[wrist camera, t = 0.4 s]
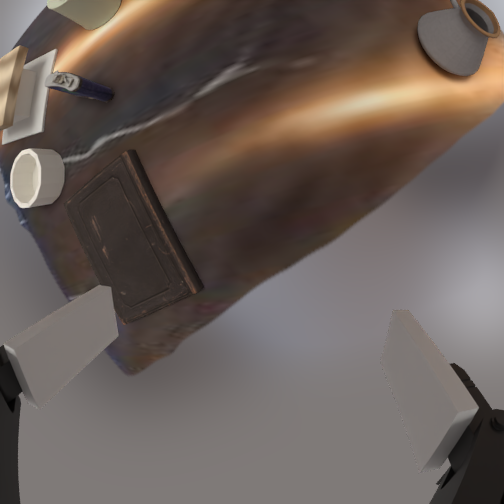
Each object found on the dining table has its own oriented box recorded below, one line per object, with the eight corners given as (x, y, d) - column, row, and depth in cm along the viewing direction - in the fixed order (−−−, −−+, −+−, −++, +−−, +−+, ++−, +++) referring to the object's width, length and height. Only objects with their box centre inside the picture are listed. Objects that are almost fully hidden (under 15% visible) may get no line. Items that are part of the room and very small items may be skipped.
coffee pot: (482, 69, 28) (533, 42, 13) (443, 90, 30) (498, 59, 16) (401, -25, 25) (425, -74, 11) (355, -12, 28) (371, -70, 14)
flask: (75, 96, 38) (34, 84, 28) (81, 81, 37) (41, 66, 27) (110, 104, 38) (68, 89, 28) (117, 87, 37) (76, 69, 27)
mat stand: (15, 72, 38) (-6, 67, 32) (58, 49, 36) (35, 40, 30) (3, 144, 42) (-19, 144, 36) (43, 131, 40) (17, 128, 34)
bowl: (33, 154, 42) (11, 153, 36) (65, 147, 40) (42, 145, 35) (32, 204, 44) (10, 208, 38) (64, 203, 43) (41, 206, 37)
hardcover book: (130, 319, 46) (123, 325, 44) (71, 202, 43) (63, 203, 41) (205, 285, 43) (200, 291, 40) (136, 150, 40) (128, 148, 37)
